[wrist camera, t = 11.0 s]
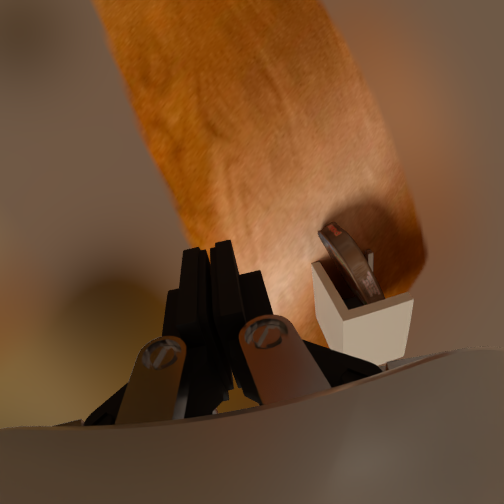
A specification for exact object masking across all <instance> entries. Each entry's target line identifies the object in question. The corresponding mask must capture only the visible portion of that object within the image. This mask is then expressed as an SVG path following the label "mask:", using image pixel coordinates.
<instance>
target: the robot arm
mask: <svg viewBox="0 0 504 504" xmlns="http://www.w3.org/2000/svg"><path fill="white" fill-rule="evenodd" d="M210 262H211V265H210ZM210 262H209V258H208V255H207V252H206V249H205V250H200V248H199V247H196V248H192V249H187V250H184V251H183V258H182V266H181V275H180V285H179V289H174V290H170V291H168V295H167V302H166V309H165V317H164V324H163V332H162V337H158V338H156V339H153V340H151V341H150V342H149V343H147V344H146V345H145V346H144V347H143V348H142V349H141V350H140V352H139V354H138V356H137V359H136V362H135V365H134V367H133V371H132V373H131V376H130V379H129V382H128V383H127V384H126V385H124V386H123V387H122V388H121V389H120V390H119V391H117V392H116V393H115V394H114V395H113V396H111V397H110V398H109V399H108V400H107V401H105V402H104V403H103V404H102V405H101V406H100V407H98V408H97V409H96V410H95V411H94V412H93V413H91V415H90V416H89V417H88V418H87V419H86V421H85V422H84V421H83V420H82V419H80V420H75V421H71V422H68V423H63V424H59V425H54V426H19V427H7V428H2V429H0V504H504V348H501V347H489V346H483V347H470V348H462V349H457V350H452V351H445V352H440V353H435V354H429V355H425V356H419V357H413V358H407V359H401V360H395V361H388V362H387V363H386V366H380V367H378V366H377V365H376V364H373V363H371V362H369V361H366V360H363V359H360V358H356V357H353V356H350V355H347V354H344V353H341V352H338V351H335V350H332V349H329V348H326V347H323V346H320V345H317V344H314V343H311V342H308V341H305V340H302V339H301V337H300V336H299V334H298V332H297V331H296V329H295V328H294V326H293V324H292V323H291V322H290V321H289V320H288V319H286V318H284V317H282V316H278V315H273V312H272V308H271V305H270V301H269V298H268V295H267V291H266V288H265V284H264V281H263V278H262V274H261V271H260V270H258V271H254V272H250V273H245V274H241V275H239V272H238V268H237V263H236V259H235V255H234V251H233V247H232V243H231V240H226V241H222V242H217V243H215V247H214V248H210ZM232 372H233V375H234V378H235V380H236V383H237V385H238V388H242V390H243V393H244V395H245V396H246V397H248V398H250V399H252V400H253V401H255V402H257V403H259V405H260V406H256V407H252V408H247V409H241V410H236V411H231V412H225V413H219V414H218V411H217V409H216V408H217V406H218V405H219V404H220V403H221V402H222V401H227V400H229V395H228V390H232V389H234V387H233V377H232Z"/></svg>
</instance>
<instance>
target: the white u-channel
mask: <svg viewBox="0 0 504 504" xmlns="http://www.w3.org/2000/svg"><path fill="white" fill-rule="evenodd" d="M365 258H366V260H367V262H368V264H369V266H370V268H371V270H372V272H373V252H372V251H371V250H370V249H368V250H365ZM311 267H312V277H313V287H314V298H315V309H316V318H317V320H318V323H319V325H320V327H321V329H322V331H323V334H324V336H325V338H326V340H327V343H328V345H329V347H330V349H332V350H335V351H338V352H341V353H344V354H347V355H350V356H353V357H356V358H360V359H363V360H366V361H369V362H371V363H373V364H376V365H377V366H378V365H380V364H383V363H386V362H388V361H392V360H394V359H397V358H400V357H402V356H404V352H405V347H406V342H407V337H408V331H409V326H410V320H411V314H412V308H413V301H414V299H413V298H412V297H411V296H410V294H409V293H408V292H406V293H403V294H400V295H397V296H394V297H390V298H387V299H384V300H381V301H377V302H374V303H371V304H368V305H364V306H363V305H362V304H361V303H360V301H359V300H358V299H357V297H353V298H349V299H346V300H342V298H341V296H340V295H339V293H338V291H337V290H336V288H335V286H334V285H333V283H332V281H331V280H330V278H329V277H328V275H327V273H326V272H325V270H324V268H323V267H322V265H321V263H320V262H315V263H311Z"/></svg>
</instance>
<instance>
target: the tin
mask: <svg viewBox="0 0 504 504" xmlns="http://www.w3.org/2000/svg"><path fill="white" fill-rule="evenodd" d="M318 235H319V237H320V239H321V241H322V243H323V244H324V246H325V248H326V249H327V251H328V253H329V254H330V256H331V258H332V259H333V261H334V263H335V264H336V266H337V268H338V269H339V271H340V273H341V274H342V276H343V278H344V279H345V281H346V282H347V284H348V286H349V287H350V289H351V290H352V292H353V293H354V295H355V296H356V297H357V299H358V300H359V301H360V303H361V304H362V305H363V306H364V305H368V304H371V303H374V302H377V301H381V300H384V299H385V297H384V294H383V292H382V290H381V288H380V286H379V284H378V282H377V280H376V278H375V276H374V274H373V272H372V270H371V268H370V266H369V264H368V262H367V260H366V258H365V256H364V255H363V253H362V252H361V250H360V248H359V247H358V246H357V244H356V243H355V241H354V240H353V239H352V238H351V236H350V235H349V234H348V233H347V232H346V231H344V230H343V229H342V228H340V227H339V226H338V225H337V224H336V223H335V222H332V223H330V224H329V225H327V226H326V227H325V228H323V229H322V230H320V231H318Z"/></svg>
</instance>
